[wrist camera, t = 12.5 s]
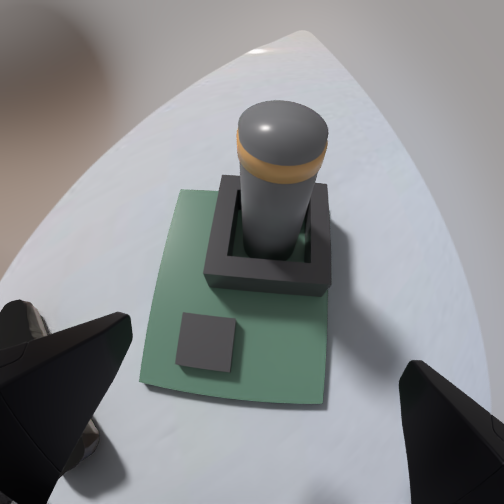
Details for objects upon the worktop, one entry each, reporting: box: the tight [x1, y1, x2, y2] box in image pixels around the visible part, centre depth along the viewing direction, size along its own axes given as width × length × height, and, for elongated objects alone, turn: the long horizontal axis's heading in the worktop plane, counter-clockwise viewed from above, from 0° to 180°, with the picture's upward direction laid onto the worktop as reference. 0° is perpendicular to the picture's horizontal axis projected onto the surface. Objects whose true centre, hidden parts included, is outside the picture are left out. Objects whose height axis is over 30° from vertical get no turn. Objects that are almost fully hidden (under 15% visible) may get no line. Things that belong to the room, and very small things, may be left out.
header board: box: [139, 175, 331, 404], centre depth 21 cm, size 18×14×4 cm
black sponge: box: [0, 299, 99, 478], centre depth 17 cm, size 16×8×4 cm, turn 40°
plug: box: [237, 100, 328, 261], centre depth 18 cm, size 5×5×12 cm
